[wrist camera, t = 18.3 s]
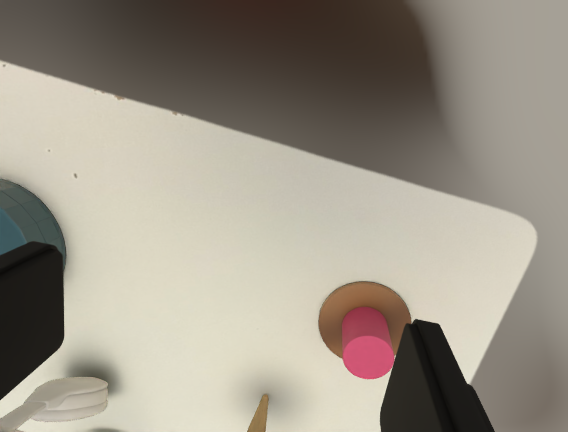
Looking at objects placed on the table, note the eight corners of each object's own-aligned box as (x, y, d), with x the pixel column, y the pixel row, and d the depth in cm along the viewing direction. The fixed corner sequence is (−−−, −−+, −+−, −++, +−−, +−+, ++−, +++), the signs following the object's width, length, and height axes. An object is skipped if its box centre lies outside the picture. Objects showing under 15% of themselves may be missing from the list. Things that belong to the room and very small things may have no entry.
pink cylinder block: (333, 319, 39) (332, 350, 34) (371, 298, 37) (376, 327, 33) (357, 352, 39) (360, 387, 34) (396, 333, 38) (404, 365, 33)
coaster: (301, 309, 39) (300, 312, 39) (378, 265, 37) (378, 267, 36) (350, 375, 41) (351, 378, 40) (428, 336, 38) (429, 338, 38)
